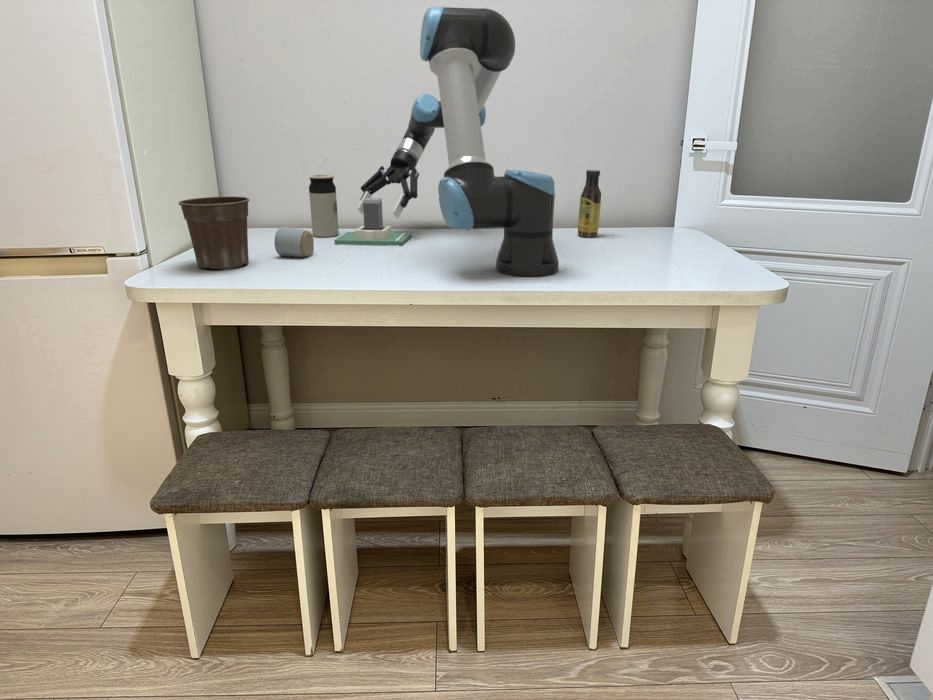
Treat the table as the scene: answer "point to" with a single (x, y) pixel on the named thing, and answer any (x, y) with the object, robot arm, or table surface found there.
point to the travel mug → (323, 206)
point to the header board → (374, 237)
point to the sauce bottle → (590, 205)
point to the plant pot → (218, 230)
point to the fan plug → (373, 214)
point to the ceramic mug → (293, 242)
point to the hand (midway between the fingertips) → (377, 213)
